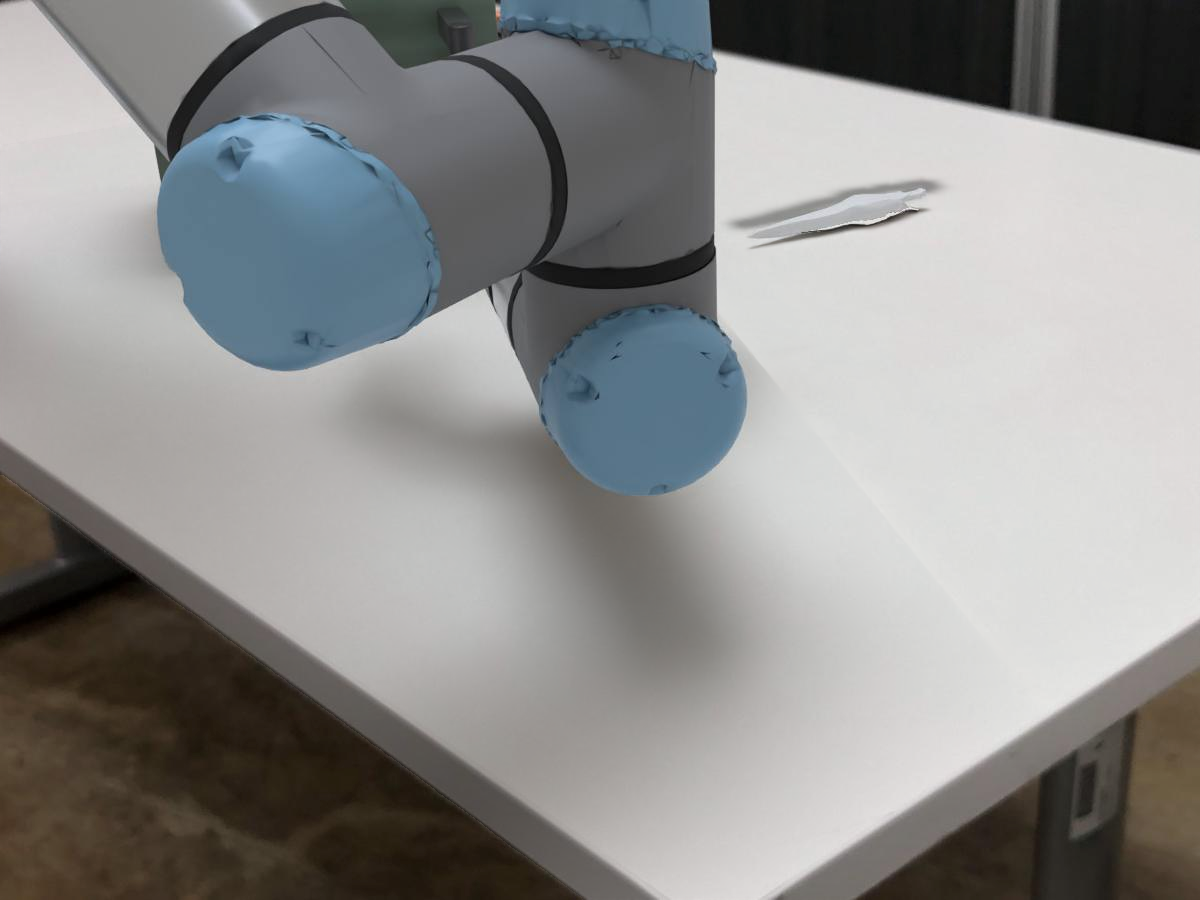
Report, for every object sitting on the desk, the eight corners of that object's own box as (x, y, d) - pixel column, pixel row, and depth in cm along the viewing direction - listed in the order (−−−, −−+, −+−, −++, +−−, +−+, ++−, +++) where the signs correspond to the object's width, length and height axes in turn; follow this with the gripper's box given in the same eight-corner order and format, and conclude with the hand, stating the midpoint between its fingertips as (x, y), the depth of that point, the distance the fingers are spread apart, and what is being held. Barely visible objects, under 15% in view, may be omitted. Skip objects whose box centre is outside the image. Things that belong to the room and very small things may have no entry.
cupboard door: (530, 285, 103) (503, -101, 92) (180, 330, 99) (108, -69, 88) (511, 250, 109) (483, -116, 98) (181, 291, 105) (113, -86, 94)
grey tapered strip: (913, 204, 114) (914, 179, 114) (935, 213, 112) (937, 188, 111) (736, 243, 109) (736, 217, 108) (756, 254, 106) (756, 228, 106)
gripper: (304, 391, 70) (281, 239, 89) (831, 320, 75) (705, 190, 93) (281, 232, 67) (262, 108, 85) (835, 167, 71) (703, 63, 90)
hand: (493, 151), depth 89 cm, fingers open, 13 cm apart
